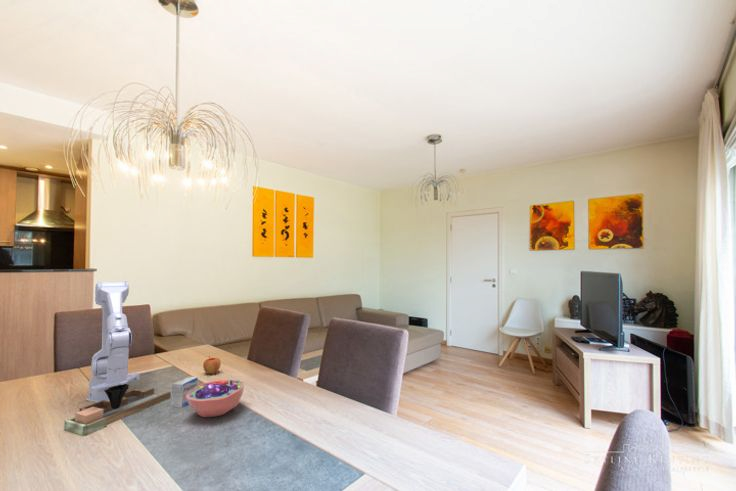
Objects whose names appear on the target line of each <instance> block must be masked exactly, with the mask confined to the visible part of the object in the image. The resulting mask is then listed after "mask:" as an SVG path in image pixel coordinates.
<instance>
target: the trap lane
mask: <svg viewBox="0 0 736 491" xmlns="http://www.w3.org/2000/svg"><path fill="white" fill-rule="evenodd" d="M170 399H172V391H167V392H165V393H162V394H160V395H159V394H155V388H154V387H152V388H149V389H146V390H142V389H138V388H133V389H131V390H127V391H126V392H125V394H124V396H123V398H122V401H121V404H120V407H119V408H117V409H113V408H111V404H110V401H107V400H102V401H100V402H94V403H92V404H88V405H86V406H83V407H81V408H79V410H78V412H80V411H82V410H85V409H88V408H91V407H97V408H101V409H103V419H100V420H98V421H95V422H93V423H90V424H88V425H84V424H81V423H77V422H75V416H74V417H71V418H69V419H65V420H64V428H63V429H64V430H65V431H67V432H70V433H74V434H76V435H80V436H84V437H85V436H88V435H90V434H92V433H95V432H97V431H99V430H102V429H104V428H106V427H108V425H110V424H112V423H115V422H116V421H120V420H121V419H124V418H127V417H128V416H131V415H134V414H136V413H139V412H141V411H143V410H145V409H148V408H150V407H152V406H155V405H157V404H160V403H162V402H165V401H166V400H170Z"/></svg>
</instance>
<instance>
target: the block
mask: <svg viewBox="0 0 736 491" xmlns="http://www.w3.org/2000/svg"><path fill="white" fill-rule="evenodd" d="M74 417H75V422H77V423H81V424H84V425H88V424H90V423H93V422H95V421H98V420H100V419H103V409H101V408H97V407H91V408H88V409H85V410H82V411H80V412H79V411H77V412H75V414H74Z"/></svg>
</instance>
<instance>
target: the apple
mask: <svg viewBox="0 0 736 491" xmlns="http://www.w3.org/2000/svg"><path fill="white" fill-rule="evenodd" d="M202 367H203V370H204V371H205V373H206V374H208V375H210V374H211V375H214V374H215V373H217V372H218V371H219V370H220V368H221V360H220V359H219V358H217V357H210V355H209V356H208V359H205V361H203V366H202Z"/></svg>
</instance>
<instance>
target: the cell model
mask: <svg viewBox="0 0 736 491" xmlns="http://www.w3.org/2000/svg"><path fill="white" fill-rule="evenodd" d="M244 387H245V383H244V382H243V381H241V380H238V379H227V380H223V379H222V380H212V381H210V382H204V383H201V384H199V385H197V387H196V388H195V389H193V390H191V391H190V392H188V393H187V395H186V398H187V400H188V403H189V404H188V405H189V406H190V407H191V408H192V409H193V410H194V412H195V413H196V414H198V415H199V416H200V417H203V418H211V417H212V418H213V417H215V418H216V417H220V416H222V415H225V414H226V413H228V412H230V411H231V410H233V409H234V408H235V407H237V406H238V404H239V403H240V401H241V399H242V396H243V393H244Z"/></svg>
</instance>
